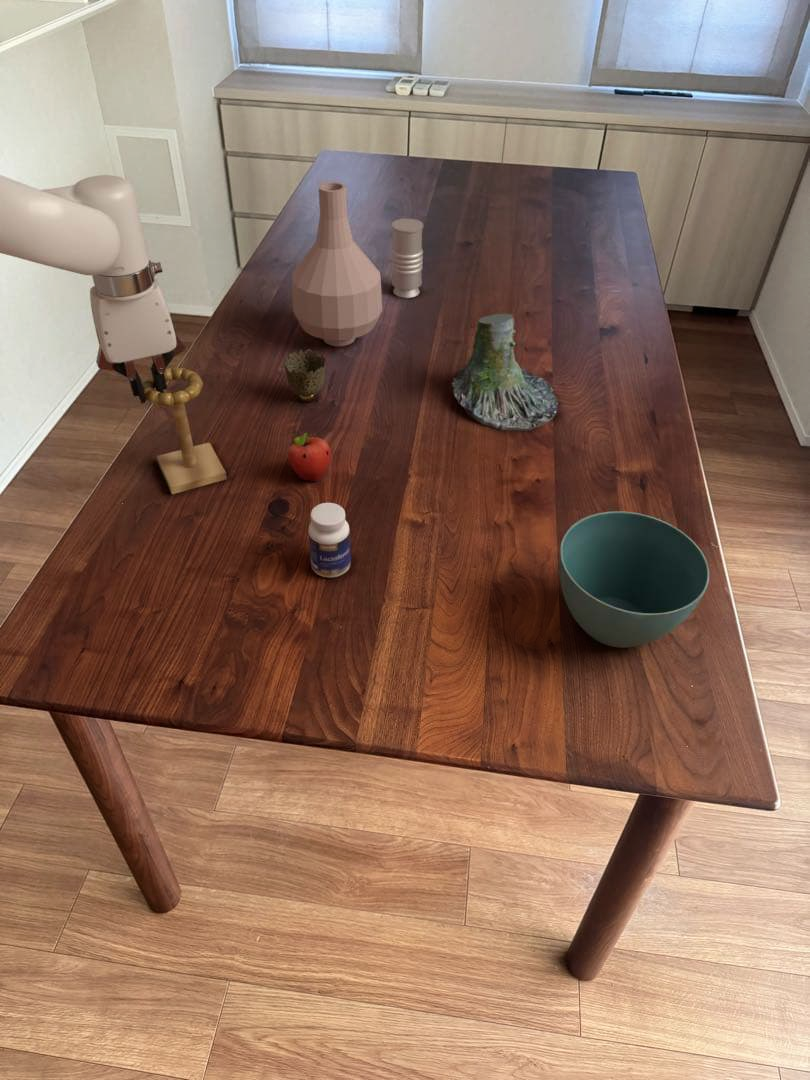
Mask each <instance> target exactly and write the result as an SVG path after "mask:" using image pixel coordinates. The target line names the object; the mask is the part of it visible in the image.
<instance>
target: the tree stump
mask: <svg viewBox="0 0 810 1080" xmlns="http://www.w3.org/2000/svg"><path fill="white" fill-rule="evenodd" d="M476 326H477V328H476V332H475V334H474V335H475V336H474V341H473V345H472V353H471V356H470V357H469V359H468V360H467V363H465V366H463V367H462V368H460V369H458V371H457V375H456V376H455V377H454V378H453V379H452V381H453V382H451V385H452V388H453V396H454V398H455V399H456V401H457V403H458V404H459V406H461V407H462V409H464V411H465V412H466V413H467V415H468V416H469V417H471V418H472V419H474V421H477V422H479V424H481V425H484V426H487V427H492V428H494V429H497V430H500V431H531V430H534V429H537V428H539V427H542V426H544V425H547V424H549V423H550V422H551V420H553V419H554V418H555V416H556V414H557V412H558V406H559V402H558V398H557V396H556V394H555V391H554V390H553V387H552V386H551V385H550V384H549V383H548V381H547V380H545V379H544V378H543V377H541V376H539V375H534V373H533V374H532V373H531V372H530V371H529V370H526V368H523V367H522V368H521V367H520V365H519V364H518V362H517V361H516V358H515V354H514V353H515V352H514V346H515V345H516V342H515V340H514V337H515V334H516V330H515V329H514V326H515V319H514V315H513V314H510V313H496V314H495V313H494V314H492V315H491V314H490V315H486V316H482V317H481V318H479V319H478V323H477V325H476Z"/></svg>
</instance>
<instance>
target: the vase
mask: <svg viewBox="0 0 810 1080" xmlns="http://www.w3.org/2000/svg"><path fill="white" fill-rule="evenodd" d="M318 203H319V204H318V205H319V220H318V226H317V234H316V241H315V242H314V244H313V245H312V246H311V248H309V250H308V251H307V253H306V254H305V256H304V257H303V258H302V259H301V261H300V262H299V264H298V265H297V266H296V268H294V270H293V272H292V273H291V291H292V292H291V293H292V295H291V296H292V312H293V314H294V316H295V318H296V320H297V322H298V324H299V325H300V327H301V328H302V330H303V331H304V332H305V333H307V334H309V335H310V336H312V337H313V338H318V339H321V340H323V342H324V343H325V344H326V345H329V346H333V347H344V346H345V347H346V346H348V345H351V344H352V343H354V342H355V340H356V339H358V338H360V337H363V336H365V335H366V334H368V333H370V332H371V331H373V329H374V328H375V326H376V325H377V322H378V320H379V318H380V316H381V314H382V312H383V295H382V294H383V293H382V278H381V271H380V270H379V269H378V268H377V267H376V265H374V264H373V262H372V261H371V260H370V259H369V257H368V256H367V255H366V254H365V252H364V251H363V250H362V249H361V248H360V246H359V245H358V244H357V243H356V242H355V241H354V238H353V234H352V231H351V226H350V222H349V217H348V207H347V186H346V184H345V183H343V182H338V181H326V182H322V183H320V184H318Z"/></svg>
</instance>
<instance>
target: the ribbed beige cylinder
mask: <svg viewBox="0 0 810 1080" xmlns="http://www.w3.org/2000/svg"><path fill="white" fill-rule="evenodd" d="M391 228H392V248H391V251H390V253H391V256H390V257H391V261H390V263H391V265H390V269H391V270H392V271H391V272H392V273H391V285H392V286H393V287H394V289H393V294H394V295H395V296H397V297H399V298H403V299H404V298H405V299H409V298H410V299H411V298H414V297H417V296H419V294H420V292H421V290H420V287H421V286H422V284H423V279H422V278H423V277H422V271H423V261H424V260H423V259H424V255H423V253H424V250H423V229H424V223H423V222H422V221H420V220H418V219H415V218H399V219H396V220H394V221H392V222H391Z"/></svg>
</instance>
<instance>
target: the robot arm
mask: <svg viewBox="0 0 810 1080" xmlns="http://www.w3.org/2000/svg"><path fill="white" fill-rule="evenodd" d="M141 220H142V219H141V215H140V211H139V206H138V202H137V197H136V193H135V190H134V188H133V186H132V185H131V183H130V182H129V181H128V180H127V179H125V178H123V177H121V176H117V175H110V174H108V175H107V174H102V175H101V174H100V175H93V176H89V177H86V178H83V179H79V180H78V181H77V182H76V183H75V184H71V185H66V186H61V187H54V188H46V189H38V188H36V187H33V186H31V185H28V184H25V183H23V182H19V181H18V180H15V179H12V178H9V177H7V176H4V175H1V174H0V254H3V255H6V256H10V257H14V258H17V259H21V260H25V261H28V262H31V263H34V264H35V263H36V264H39V265H42V266H47V267H51V268H54V269H59V270H63V271H66V272H70V273H74V274H77V275H78V274H79V275H83V276H91V277H92V281H93V286H92V287H91V288H89V289H90V290H89V298H90V309H91V313H92V320H93V324H94V325H93V326H94V329H95V333H96V338H97V341H98V349H97V350H98V351H97V356H96V361H95V362H96V366H97V367H98V369H100V370H104V371H105V370H106V371H114V372H116V373H118V374H120V375H122V376H123V377H125V378H127V379H128V381H129V385H130V389H131V392H132V395H133V397H134V398H135V397H138V399H139V401H140V404H145V403H146V402H147V400H146V398H145V394H144V390H143V386H142V384H143V381H142V379H141V377H140V375H139V373H138V371H137V370H136V367H135V363H134V361H137V360H141V359H145V358H150V357H151V361H152V364H151V367H150V373H151V374H152V376H153V381H154V384H155V388H154V389H155V390H156V391H158V392H161V393H165V390H168V386H167V385H168V384H167V381H166V380H165V376H164V373H165V371H166V369H167V367H168V366H169V365H170V363H171V362H172V360H173V359H174V357H177V356H178V355H180V354H181V353H183V352H184V351H185V350H186V346H185V344H184V343H183V341H182V340H181V339H180V338H179V336H178V335H177V333H175V332H176V331H175V329H174V328H175V327H174V323H173V320H172V317H171V313H170V309H169V307H168V304H167V301H166V298H165V295H164V292H163V290H162V287H161V285H160V282H159V280H158V279H157V278H156V275H158V274H162V273H163V272H164V271H163V267H162V264H161V261H159V262H155V261H153V262H152V261H151V260H149V255H148V249H147V244H146V239H145V235H144V231H143V225H142V221H141Z"/></svg>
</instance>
